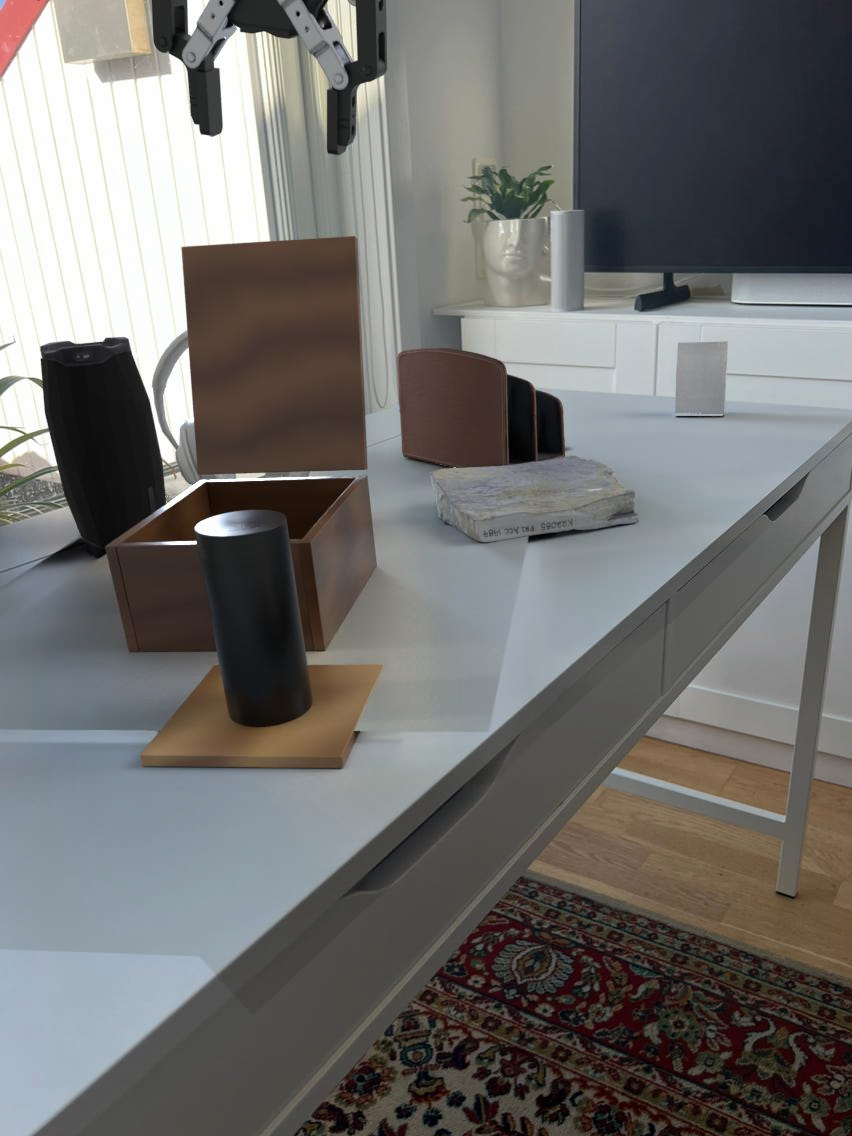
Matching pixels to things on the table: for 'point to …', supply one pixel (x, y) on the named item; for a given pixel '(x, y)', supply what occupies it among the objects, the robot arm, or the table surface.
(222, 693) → the board
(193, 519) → the wooden box
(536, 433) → the letter holder
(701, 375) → the grey rectangular block
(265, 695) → the tin
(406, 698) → the table surface
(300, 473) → the headphones
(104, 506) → the portable speaker
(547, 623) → the table surface
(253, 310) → the lid
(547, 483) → the fossil
